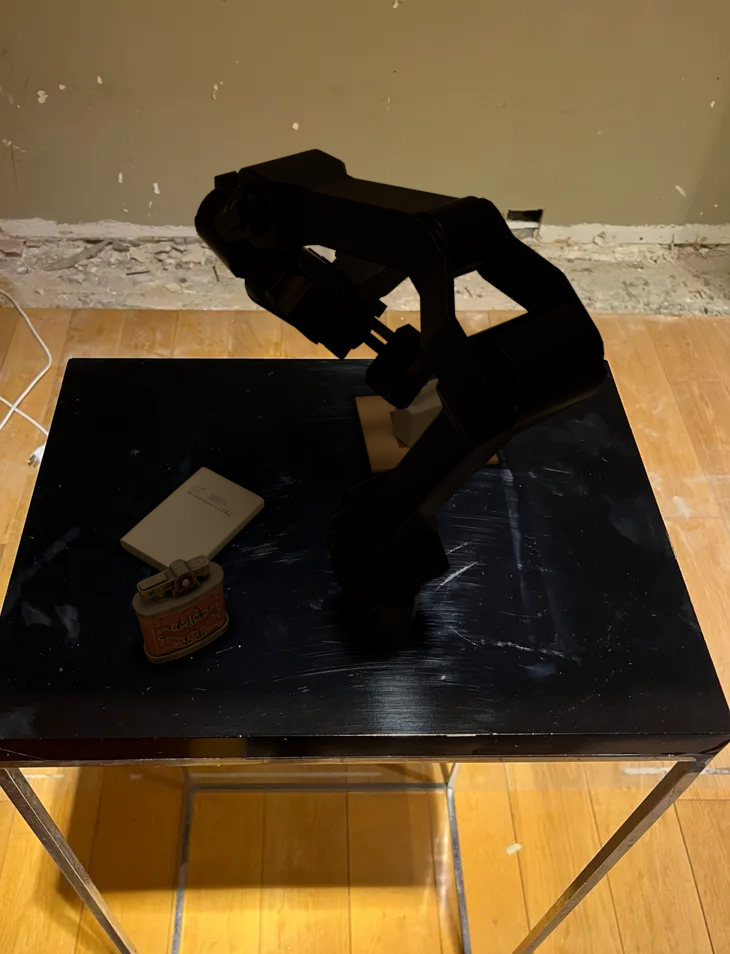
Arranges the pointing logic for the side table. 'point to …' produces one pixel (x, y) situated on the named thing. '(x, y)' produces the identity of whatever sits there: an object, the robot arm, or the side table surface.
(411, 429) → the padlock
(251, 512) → the hard drive
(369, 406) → the board
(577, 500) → the side table surface
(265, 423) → the side table surface
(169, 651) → the lighter
